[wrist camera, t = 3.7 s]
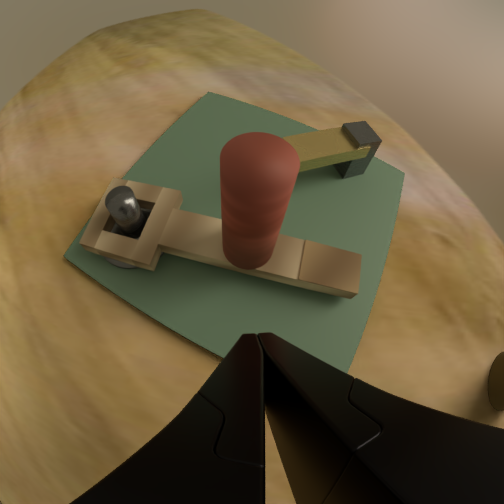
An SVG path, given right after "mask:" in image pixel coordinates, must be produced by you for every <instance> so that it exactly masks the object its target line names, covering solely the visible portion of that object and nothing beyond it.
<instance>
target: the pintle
mask: <svg viewBox="0 0 504 504" xmlns="http://www.w3.org/2000/svg"><path fill="white" fill-rule="evenodd" d="M105 206H106V208H107V209H108V211H109V213H110V214H111V216H112V217H113V219H114V221H115V225H114V227H113V229H112V231H111V233H115V234H118V235H122V236H125V237H129V238H133V239H136V240H139V238H140V236H141V233H142V231H143V229H144V227H145V224H146V222H147V220H148V218H149V216H150V214H151V211H152V210H148V209H144V208H140V206H139V204H138V202H137V199H136V197H135V195H134V192H133V190H132V189H131V188H130V187H128V186H118V187H115V188H114V189H112V190H111V191H110V192H109V193H108V194H107V196H106V198H105ZM164 254H165V252H161V255H160V257H159V258H161V257H162V256H163V255H164ZM103 257H104V258H105V259H106V260H107V261H108V262H109V263H110V264H112V265H114V266H116V267H119V268H123V269H138V268H140V267H137V266H134V265H130V264H127V263H124V262H121V261H118V260H114V259H111V258H108V257H105V256H103Z"/></svg>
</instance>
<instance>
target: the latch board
mask: <svg viewBox="0 0 504 504" xmlns="http://www.w3.org/2000/svg"><path fill="white" fill-rule="evenodd" d="M314 131H319V130H317V129H314V128H312V127H310V126H307V125H305V124H302V123H300V122H297V121H295V120H292V119H290V118H287V117H285V116H282V115H279V114H277V113H274V112H271V111H268V110H265V109H263V108H260V107H257V106H254V105H251V104H248V103H245V102H242V101H239V100H235V99H232V98H229V97H226V96H222V95H219V94H215V93H212V92H208V93H207V94H206V95H204V96H203V97H202V98H201V99H200V100H199V101H198V102H197V103H195V104H194V105H193V106H192V107H191V108H190V109H189V110H188V111H187V112H186V113H185V114H183V115H182V116H181V117H180V118H179V119H178V120H177V121H176V122H175V123H174V124H173V125H172V126H171V127H170V128H169V129H168V130H167V131H166V132H165V133H164V134H163V135H162V136H161V137H160V138H159V139H158V140H157V141H156V142H155V143H154V144H153V145H152V146H151V147H150V148H149V149H148V150H147V151H146V153H145V154H144V155H143V156H142V157H141V158H140V159H139V160H138V161H137V162H136V163H135V165H134V166H133V167H132V168H131V169H130V170H129V171H128V172H127V174H126V175H125V176H124V177H123V178H122V179H124V180H129V181H135V182H140V183H145V184H150V185H155V186H160V187H165V188H170V189H175V190H179V191H181V194H182V198H183V202H182V204H181V206H180V209H179V210H184V211H188V212H192V213H197V214H201V215H205V216H209V217H214V218H218V219H221V189H220V153H221V150H222V148H223V147H224V145H225V144H226V143H227V142H228V141H229V140H231V139H232V138H234V137H236V136H238V135H241V134H244V133H249V132H264V133H269V134H273V135H276V136H278V137H280V138H282V139H283V137H286V136H291V135H297V134H302V133H308V132H314ZM404 174H405V173H404V172H402V171H400V170H398V169H397V168H395V167H393V166H391V165H389V164H387V163H386V162H384V161H382V160H380V159H378V158H376V157H374V156H373V158H372V160H371V162H370V163H369V165H368V167H367V169H366V170H365V172H364V174H361V175H358V176H354V177H350V178H346V179H342V177H341V176H340V174H339V173H338V171H337V170H336V169H335V167H334V166H333V164H332V165H328V166H324V167H319V168H315V169H311V170H307V171H303V172H299V173H298V175H297V178H296V182H295V185H294V188H293V191H292V194H291V197H290V201H289V204H288V207H287V210H286V213H285V216H284V219H283V223H282V226H281V229H280V232H279V234H283V235H287V236H291V237H294V238H298V239H302V240H309V241H313V242H317V243H321V244H324V245H328V246H332V247H336V248H339V249H343V250H347V251H350V252H354V253H358V254H361V255H362V259H361V271H360V282H359V291H358V294H357V295H356V296H354V297H353V298H352V299H347V298H343V297H339V296H334V295H330V294H326V293H322V292H318V291H313V290H309V289H305V288H301V287H297V286H293V285H289V284H285V283H280V282H276V281H272V280H268V279H264V278H260V277H256V276H252V275H249V274H245V273H241V272H237V271H233V270H229V269H225V268H221V267H217V266H214V265H210V264H206V263H202V262H198V261H195V260H191V259H187V258H183V257H180V256H176V255H172V254H169V253H165V254H164V255H163V256H162V257H161V258H159V260H158V263H157V265H156V268H155V271H150V270H147V269H144V268H138V269H123V268H119V267H116V266H114V265H112V264H110V263H109V262H108V261H107V260H106V259H105V258H104V257H103V256H102V255H99V254H96V253H92V252H89V251H86V250H85V249H84V248H83V247H82V246H81V245H80V244H79V242H80V240H81V238H82V236H83V234H84V232H85V230H86V228H87V226H88V224H89V222H90V220H91V218H92V217H91V218H90V219H89V221H88V222H87V223H86V225H85V226H84V227H83V229H82V230H81V231H80V233H79V234H78V236H77V237H76V238H75V240H74V241H73V243H72V244H71V246H70V247H69V249H68V250H67V251H66V253H65V254H64V257H65V258H66V259H68V260H69V261H70V262H71V263H73V264H74V265H75V266H77V267H78V268H79V269H81V270H82V271H84V272H85V273H86V274H88V275H89V276H90V277H92V278H93V279H95V280H96V281H97V282H99V283H100V284H102V285H103V286H104V287H106V288H107V289H109V290H110V291H112V292H113V293H115V294H116V295H118V296H119V297H121V298H122V299H124V300H125V301H127V302H128V303H130V304H131V305H133V306H134V307H136V308H137V309H139V310H140V311H142V312H144V313H145V314H147V315H148V316H150V317H152V318H153V319H155V320H156V321H158V322H160V323H161V324H163V325H165V326H166V327H168V328H170V329H171V330H173V331H175V332H176V333H178V334H180V335H182V336H183V337H185V338H187V339H189V340H190V341H192V342H194V343H196V344H198V345H199V346H201V347H203V348H205V349H207V350H209V351H210V352H212V353H214V354H216V355H218V356H220V357H222V358H224V357H225V356H226V355H227V353H228V352H229V351H230V350H231V348H232V347H233V346H234V344H235V343H236V342H237V340H238V339H239V338H240V336H241V335H242V334H247V333H256V334H258V333H264V332H272V333H274V334H275V335H277V336H279V337H281V338H282V339H284V340H286V341H288V342H289V343H291V344H293V345H295V346H297V347H298V348H300V349H302V350H304V351H306V352H307V353H309V354H311V355H313V356H315V357H317V358H318V359H320V360H322V361H324V362H326V363H328V364H330V365H332V366H333V367H335V368H337V369H339V370H341V371H343V372H345V373H347V372H348V370H349V368H350V365H351V363H352V360H353V358H354V355H355V353H356V350H357V347H358V345H359V342H360V339H361V337H362V334H363V331H364V328H365V326H366V323H367V320H368V317H369V314H370V311H371V308H372V305H373V302H374V299H375V296H376V292H377V289H378V286H379V283H380V279H381V276H382V272H383V269H384V265H385V261H386V258H387V254H388V250H389V246H390V242H391V238H392V234H393V230H394V225H395V221H396V216H397V212H398V207H399V202H400V197H401V191H402V186H403V180H404ZM92 216H93V215H92Z"/></svg>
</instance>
